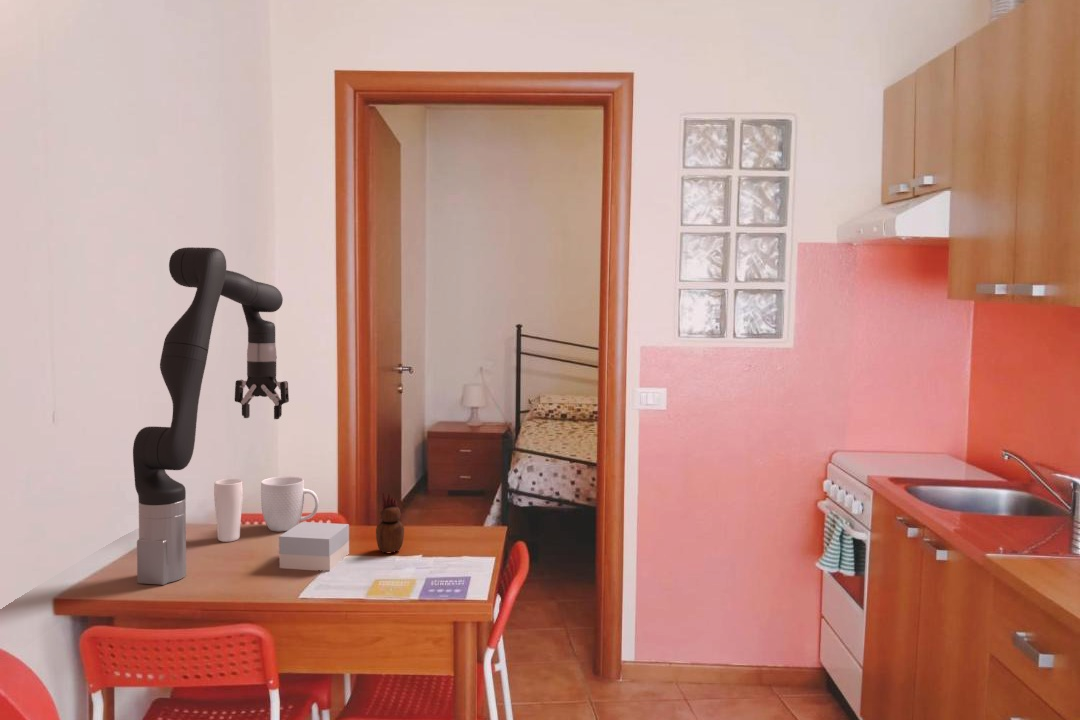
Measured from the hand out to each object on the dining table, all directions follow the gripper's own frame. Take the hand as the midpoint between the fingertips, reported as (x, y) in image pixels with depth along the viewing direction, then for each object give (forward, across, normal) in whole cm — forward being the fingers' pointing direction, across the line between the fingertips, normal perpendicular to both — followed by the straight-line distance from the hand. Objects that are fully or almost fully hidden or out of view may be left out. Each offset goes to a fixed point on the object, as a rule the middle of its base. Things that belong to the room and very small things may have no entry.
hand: (261, 418), depth 210 cm
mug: (+29, +9, -5) cm, 31 cm away
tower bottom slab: (+30, +26, -29) cm, 49 cm away
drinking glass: (+29, -2, -16) cm, 33 cm away
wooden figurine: (+29, +41, -20) cm, 54 cm away
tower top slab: (+26, +26, -30) cm, 47 cm away
